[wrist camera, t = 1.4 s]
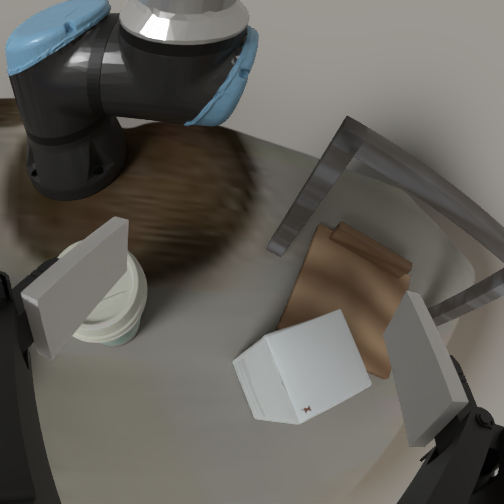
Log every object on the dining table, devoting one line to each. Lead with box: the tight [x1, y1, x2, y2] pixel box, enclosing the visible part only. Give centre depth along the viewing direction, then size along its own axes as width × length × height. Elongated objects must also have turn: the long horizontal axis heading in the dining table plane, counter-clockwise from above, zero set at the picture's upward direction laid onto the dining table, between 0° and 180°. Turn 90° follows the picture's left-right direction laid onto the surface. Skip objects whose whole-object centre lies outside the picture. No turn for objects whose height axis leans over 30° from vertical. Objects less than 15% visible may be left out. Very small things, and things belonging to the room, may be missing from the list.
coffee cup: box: [58, 240, 147, 347], centre depth 27 cm, size 8×8×12 cm
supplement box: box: [232, 309, 372, 424], centre depth 29 cm, size 7×7×13 cm
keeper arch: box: [266, 116, 504, 379], centre depth 32 cm, size 16×26×21 cm, turn 66°
